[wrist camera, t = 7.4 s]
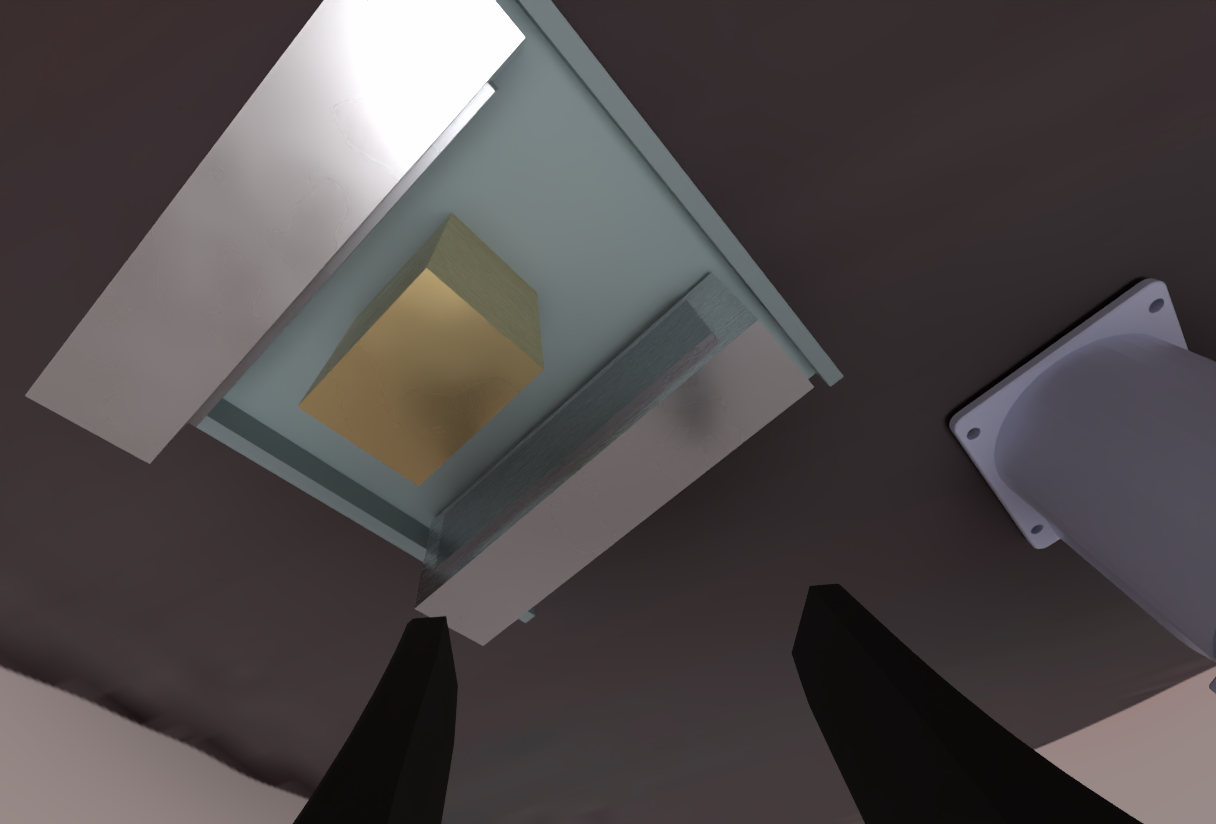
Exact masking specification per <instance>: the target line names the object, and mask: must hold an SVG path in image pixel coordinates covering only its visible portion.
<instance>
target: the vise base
mask: <svg viewBox="0 0 1216 824" xmlns="http://www.w3.org/2000/svg"><path fill="white" fill-rule="evenodd" d="M495 1H496V3H497V4H498V5H499V6H500V7H501V9H502V10H503V11H504V12H505V13H506V15H507V16H508V17H509V18H510V20H511V21H512V22H513V23H514V24H515V26H516V27H517V28H518V29H519V30H520V32H521V33H522V34H523V35H524V36H525V41H524V46H523V48H522V49H521V50H520V51H519V52H518V53H517V55H516V56H515V57H514V58H513V59H512V60H511V61H510V62H509V64H508V65H507V66H506V67H505V68H504V69H503V70H502V72H501V73H500V74H499V75H498V76H497V77H496V78H495V79H494V81H493V83H494V84H495V85H496V86H497V87H498V88H499V89H498V90H497V91H496V92H495V93H494V95H493V96H492V97H491V98H490V99H489V100H488V101H487V102H486V104H485V105H484V106H483V107H482V108H481V109H480V110H479V111H478V113H477V114H476V115H475V116H474V117H473V118H472V119H471V120H470V121H469V123H468V124H467V125H466V126H465V127H464V128H463V129H462V130H461V132H460V133H459V134H458V135H457V136H456V137H455V138H454V139H453V141H452V142H451V143H450V144H449V145H448V146H447V147H446V148H445V150H444V151H443V152H442V153H441V154H440V155H439V156H438V157H437V159H436V160H435V161H434V162H433V163H432V164H431V165H430V166H429V168H428V169H427V170H426V171H425V172H424V173H423V174H422V175H421V176H420V178H419V179H418V180H417V181H416V182H415V183H414V184H413V185H412V187H411V188H410V189H409V190H408V191H407V192H406V193H405V194H404V196H403V197H402V198H401V199H400V200H399V201H398V202H397V203H396V205H395V206H394V207H393V208H392V209H391V210H390V211H389V212H388V214H387V215H386V216H385V217H384V218H383V219H382V220H381V221H380V223H379V224H378V225H377V226H376V227H375V228H374V229H373V230H372V231H371V233H370V234H369V235H368V236H367V237H366V238H365V239H364V240H363V242H362V243H361V244H360V245H359V246H358V247H357V248H356V249H355V251H354V252H353V253H352V254H351V255H350V256H349V257H348V258H347V260H346V261H345V262H344V263H343V264H342V265H341V266H340V267H339V269H338V270H337V271H336V272H335V273H334V274H333V275H332V276H331V278H330V279H329V280H328V281H327V282H326V283H325V284H324V285H323V286H322V288H321V289H320V290H319V291H318V292H317V293H316V294H315V295H314V297H313V298H312V299H311V300H310V301H309V302H308V303H307V304H306V306H305V307H304V308H303V309H302V310H301V311H300V312H299V313H298V315H297V316H296V317H295V318H294V319H293V320H292V321H291V322H290V324H289V325H288V326H287V327H286V328H285V329H284V330H283V331H282V333H281V334H280V335H279V336H278V337H277V338H276V339H275V340H274V341H273V343H272V344H271V345H270V346H269V347H268V348H267V349H266V350H265V352H264V353H263V354H262V355H261V356H260V357H259V358H258V359H257V361H256V362H255V363H254V364H253V365H252V366H251V367H250V368H249V370H248V371H247V372H246V373H245V374H244V375H243V376H242V377H241V379H240V380H239V381H238V382H237V383H236V384H235V385H234V386H233V387H232V388H231V390H230V391H229V392H228V393H227V394H226V395H225V396H224V397H223V398H222V399H221V401H220V402H219V403H218V404H217V405H216V406H215V407H214V408H213V409H212V410H211V412H210V413H209V414H208V415H207V416H206V417H205V418H204V419H203V420H202V421H201V422H200V424H199V425H198V426H197V428H199V429H200V430H202V431H204V432H205V433H207V434H209V435H210V436H212V437H214V438H215V439H217V440H219V441H220V442H222V443H224V444H225V445H227V446H229V447H231V448H232V449H234V450H236V451H237V452H239V453H241V454H242V455H244V456H246V457H247V458H249V459H251V460H252V461H254V462H256V463H257V464H259V465H261V466H262V467H264V468H266V469H267V470H269V471H271V472H273V473H274V474H276V475H278V476H279V477H281V478H283V479H284V480H286V481H288V482H289V483H291V484H293V485H294V486H296V487H298V488H299V489H301V490H303V491H304V492H306V493H308V494H310V495H311V496H313V497H315V498H316V499H318V500H320V501H321V502H323V503H325V504H326V505H328V506H330V507H331V508H333V509H335V510H336V511H338V512H340V513H341V514H343V515H345V516H347V517H348V518H350V519H352V520H353V521H355V522H357V523H358V524H360V525H362V526H363V527H365V528H367V529H368V530H370V531H372V532H373V533H375V534H377V535H378V536H380V537H382V538H383V539H385V540H387V541H389V542H390V543H392V544H394V545H395V546H397V547H399V548H400V549H402V550H404V551H405V552H407V553H409V554H410V555H412V556H414V557H415V558H417V559H419V560H420V561H422V562H424V557H425V552H426V547H427V542H428V536H429V531H430V526H431V521H432V520H434V519H435V518H436V517H437V516H438V515H439V514H440V513H441V512H443V511H444V510H445V509H446V508H447V507H448V506H449V505H450V504H452V503H453V502H454V501H455V500H456V499H457V498H458V497H459V496H461V495H462V494H463V493H464V492H465V491H466V490H467V489H468V488H470V487H471V486H472V485H473V484H474V483H475V482H476V481H477V480H479V479H480V478H481V477H482V476H483V475H484V474H485V473H486V472H488V471H489V470H490V469H491V468H492V467H493V466H494V465H495V464H497V463H498V462H499V461H500V460H501V459H502V458H503V457H504V456H506V455H507V454H508V453H509V452H510V451H511V450H512V449H513V448H515V447H516V446H517V445H518V444H519V443H520V442H521V441H522V440H524V439H525V438H526V437H527V436H528V435H529V434H530V433H531V432H533V431H534V430H535V429H536V428H537V427H538V426H539V425H540V424H542V423H543V422H544V421H545V420H546V419H547V418H548V417H549V416H551V415H552V414H553V413H554V412H555V411H556V410H557V409H558V408H560V407H561V406H562V405H563V404H564V403H565V402H566V401H567V400H569V399H570V398H571V397H572V396H573V395H574V394H575V393H576V392H578V391H579V390H580V389H581V388H582V387H583V386H584V385H585V384H587V383H588V382H589V381H590V380H591V379H592V378H593V377H594V376H596V375H597V374H598V373H599V372H600V371H601V370H602V369H603V368H605V367H606V366H607V365H608V364H609V363H610V362H611V361H612V360H613V359H615V358H616V357H617V356H618V355H619V354H620V353H621V352H622V351H624V350H625V349H626V348H627V347H628V346H629V345H630V344H631V343H633V342H634V341H635V340H636V339H637V338H638V337H639V336H640V335H642V334H643V333H644V332H645V331H646V330H647V329H648V328H649V327H651V326H652V325H653V324H654V323H655V322H656V321H657V320H658V319H660V318H661V317H662V316H663V315H664V314H665V313H666V312H667V311H669V310H670V309H671V308H672V307H673V306H674V305H675V304H676V303H678V302H679V301H680V300H681V299H682V298H683V297H684V296H685V295H687V294H688V293H689V292H690V291H691V290H692V289H693V288H694V287H696V286H697V285H698V284H699V283H700V282H701V281H702V280H703V279H705V278H706V277H707V276H708V275H709V274H710V273H711V272H712V273H713V274H714V275H715V276H716V277H717V278H718V279H719V280H720V281H721V282H722V283H723V284H724V285H725V286H726V287H727V288H728V289H729V290H730V291H731V292H732V293H733V294H734V295H735V296H736V297H737V298H738V299H739V300H740V301H741V302H742V303H743V304H744V305H745V306H746V307H747V308H748V309H749V311H750V312H751V313H752V314H753V315H754V316H755V317H756V318H757V319H758V320H759V321H760V322H761V323H762V325H763V326H764V327H765V328H766V329H767V331H768V332H769V333H770V334H771V335H772V337H773V338H774V339H775V340H776V341H777V343H778V344H779V345H780V346H781V348H782V349H783V350H784V351H785V352H786V354H787V355H788V356H789V357H790V358H791V360H792V361H793V362H794V363H795V364H796V366H797V367H798V368H799V369H800V371H801V372H802V373H803V374H804V375H805V377H806V378H807V379H809V378H810V377H811V376H813V375H814V374H815V373H817V374H818V375H819V376H820V377H821V378H822V379H823V380H824V381H825V382H826V383H827V384H828V385H829V386H830V387H831V386H832V385H833V384H835V383H836V382H837V381H839V380H840V379H841V378H842V377H844V376H843V375H842V373H841V372H840V371H839V370H838V368H837V367H836V366H835V364H834V363H833V362H832V361H831V359H830V358H829V357H828V355H827V354H826V353H825V352H824V350H823V349H822V348H821V347H820V345H819V344H818V343H817V341H816V340H815V339H814V338H813V336H812V335H811V334H810V332H809V331H808V330H807V329H806V327H805V326H804V325H803V323H802V322H801V321H800V320H799V318H798V317H797V316H796V314H795V313H794V312H793V311H792V309H791V308H790V307H789V305H788V304H787V303H786V302H785V300H784V299H783V298H782V296H781V295H780V294H779V293H778V291H777V290H776V289H775V287H774V286H773V285H772V284H771V282H770V281H769V280H768V278H767V277H766V276H765V275H764V273H763V272H762V271H761V269H760V268H759V267H758V266H757V264H756V263H755V262H754V260H753V259H752V258H751V257H750V255H749V254H748V253H747V252H746V250H745V249H744V248H743V246H742V245H741V244H740V243H739V241H738V240H737V239H736V237H735V236H734V235H733V234H732V232H731V231H730V230H729V228H728V227H727V226H726V225H725V223H724V222H723V221H722V219H721V218H720V217H719V216H718V214H717V213H716V212H715V210H714V209H713V208H712V207H711V205H710V204H709V203H708V201H707V200H706V199H705V198H704V196H703V195H702V194H701V192H700V191H699V190H698V189H697V187H696V186H695V185H694V183H693V182H692V181H691V180H690V178H689V177H688V176H687V174H686V173H685V172H684V171H683V169H682V168H681V167H680V165H679V164H678V163H677V162H676V160H675V159H674V158H673V157H672V155H671V154H670V153H669V151H668V150H667V149H666V148H665V146H664V145H663V144H662V142H661V141H660V140H659V139H658V137H657V136H656V135H655V133H654V132H653V131H652V130H651V128H650V127H649V126H648V124H647V123H646V122H645V121H644V119H643V118H642V117H641V115H640V114H639V113H638V112H637V110H636V109H635V108H634V106H633V105H632V104H631V103H630V101H629V100H628V99H627V97H626V96H625V95H624V94H623V92H622V91H621V90H620V88H619V87H618V86H617V85H616V83H615V82H614V81H613V79H612V78H611V77H610V76H609V74H608V73H607V72H606V70H605V69H604V68H603V67H602V65H601V64H600V63H599V62H598V60H597V59H596V58H595V56H594V55H593V54H592V53H591V51H590V50H589V49H588V47H587V46H586V45H585V44H584V42H583V41H582V40H581V38H580V37H579V36H578V35H577V33H576V32H575V31H574V29H573V28H572V27H571V26H570V24H569V23H568V22H567V20H566V19H565V18H564V17H563V15H562V14H561V13H560V11H559V10H558V9H557V8H556V6H555V5H554V4H553V2H552V1H551V0H495ZM452 213H453V214H454V215H455V216H456V217H457V218H459V219H460V220H461V221H462V222H463V223H464V224H465V225H466V226H467V227H468V228H469V229H470V230H471V231H472V232H473V233H474V234H476V235H477V236H478V237H479V238H480V239H481V240H482V241H483V242H484V243H485V244H486V245H487V246H488V247H489V248H490V249H491V250H493V251H494V252H495V253H496V254H497V255H498V256H499V257H500V258H501V259H502V260H503V261H504V262H505V263H506V264H507V265H508V266H510V267H511V268H512V269H513V270H514V271H515V272H516V273H517V274H518V275H519V276H520V277H521V278H522V279H523V280H524V281H526V282H527V283H528V284H529V285H530V286H531V287H532V288H533V289H534V290H535V291H536V292H537V298H538V309H539V320H540V331H541V342H542V352H543V363H544V370H543V371H542V372H541V373H540V374H539V375H538V376H537V377H536V378H535V379H533V380H532V381H531V382H530V383H529V384H528V385H527V386H526V387H525V388H524V389H523V390H522V391H521V392H520V393H519V394H517V395H516V396H515V397H514V398H513V399H512V400H511V401H510V402H509V403H508V404H507V405H506V406H505V407H504V408H502V409H501V410H500V411H499V412H498V413H497V414H496V415H495V416H494V417H493V418H492V419H491V420H490V421H489V422H487V423H486V424H485V425H484V426H483V427H482V428H481V429H480V430H479V431H478V432H477V433H476V434H475V435H474V436H472V437H471V438H470V439H469V440H468V441H467V442H466V443H465V444H464V445H463V446H462V447H461V448H460V449H459V450H458V451H456V452H455V453H454V454H453V455H452V456H451V457H450V458H449V459H448V460H447V461H446V462H445V463H444V464H443V465H441V466H440V467H439V468H438V469H437V470H436V471H435V472H434V473H433V474H432V475H431V476H430V477H429V478H428V479H426V480H425V481H424V482H423V483H422V484H421V485H420V486H417V485H416V484H414V483H413V482H411V481H410V480H408V479H407V478H405V477H404V476H402V475H401V474H399V473H398V472H396V471H395V470H393V469H392V468H390V467H388V466H387V465H385V464H384V463H382V462H381V461H379V460H378V459H376V458H375V457H373V456H372V455H370V454H369V453H367V452H366V451H364V450H362V449H361V448H359V447H358V446H356V445H355V444H353V443H352V442H350V441H349V440H347V439H346V438H344V437H343V436H341V435H340V434H338V433H337V432H335V431H333V430H332V429H330V428H329V427H327V426H326V425H324V424H323V423H321V422H320V421H318V420H317V419H315V418H314V417H312V416H311V415H309V414H307V413H306V412H304V411H303V410H301V409H300V408H298V407H297V406H298V405H299V403H300V402H301V400H302V399H303V397H304V396H305V394H306V393H307V391H308V390H309V388H310V387H311V385H312V384H313V382H314V381H315V379H316V378H317V376H318V375H319V373H320V372H321V370H322V369H323V367H324V366H325V364H326V363H327V361H328V360H329V358H330V357H331V355H332V354H333V352H334V351H335V349H336V348H337V346H338V344H339V343H340V341H341V340H342V338H343V337H344V335H345V334H346V332H347V331H348V329H349V328H350V326H351V325H352V323H353V322H354V320H355V319H356V317H357V316H358V315H359V314H360V313H361V312H362V311H363V310H364V309H365V308H366V307H367V305H368V304H369V303H370V302H371V301H372V300H373V299H374V298H375V297H376V296H377V295H378V293H379V292H380V291H381V290H382V289H383V288H384V287H385V286H386V285H387V284H388V282H389V281H390V280H391V279H392V278H393V277H394V276H395V275H396V274H397V273H398V272H399V270H400V269H401V268H402V267H403V266H404V265H405V264H406V263H407V262H408V261H409V260H410V258H411V257H412V256H413V255H414V254H415V253H416V252H417V251H418V250H419V249H420V247H421V246H422V245H423V244H424V243H425V242H426V241H427V240H428V239H429V238H430V237H431V235H432V234H433V233H434V232H435V231H436V230H437V229H438V228H439V227H440V226H441V224H442V223H443V222H444V221H445V220H446V219H447V218H448V217H449V216H450V215H451V214H452ZM534 616H535V606H534V607H532V608H531V609H530V610H528V611H527V612H526V613H525V614H523V615H522V616H521V617H520V618H518V619H520V620H521V621H523V622H525V623H526V622H528V621H529V620H530V619H532V618H533V617H534Z"/></svg>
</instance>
